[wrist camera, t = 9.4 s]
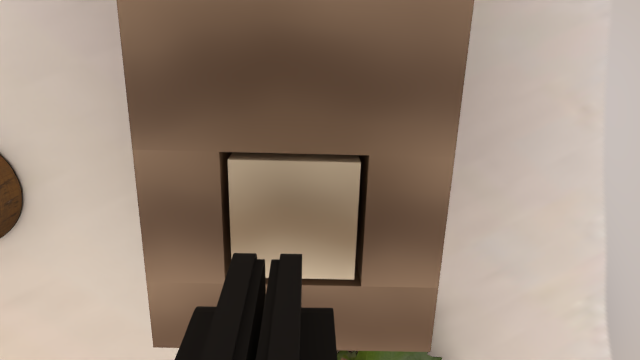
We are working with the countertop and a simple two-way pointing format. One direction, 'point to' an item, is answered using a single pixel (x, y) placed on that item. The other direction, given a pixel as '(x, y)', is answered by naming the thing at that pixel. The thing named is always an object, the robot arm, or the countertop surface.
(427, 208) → the walnut block
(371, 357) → the fruit
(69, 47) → the countertop surface
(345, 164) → the peg
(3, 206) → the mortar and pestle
